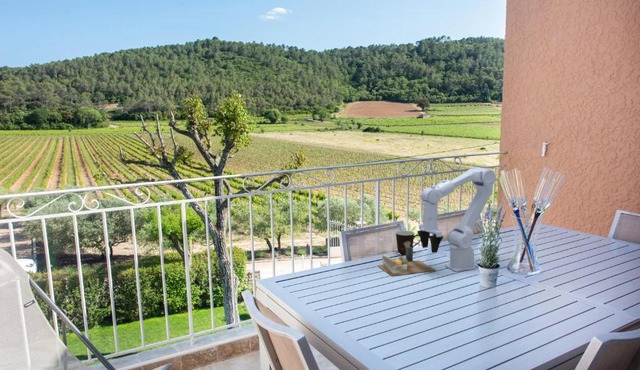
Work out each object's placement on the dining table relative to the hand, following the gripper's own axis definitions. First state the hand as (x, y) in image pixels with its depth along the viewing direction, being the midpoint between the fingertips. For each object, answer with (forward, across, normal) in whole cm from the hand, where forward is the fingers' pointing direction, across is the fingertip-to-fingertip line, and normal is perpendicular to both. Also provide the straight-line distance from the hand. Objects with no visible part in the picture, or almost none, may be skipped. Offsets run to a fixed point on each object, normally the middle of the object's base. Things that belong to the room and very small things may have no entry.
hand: (429, 249), depth 198 cm
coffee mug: (+10, -26, +4) cm, 28 cm away
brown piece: (+9, -7, -7) cm, 14 cm away
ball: (+7, -7, -11) cm, 15 cm away
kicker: (+8, -7, -7) cm, 13 cm away
